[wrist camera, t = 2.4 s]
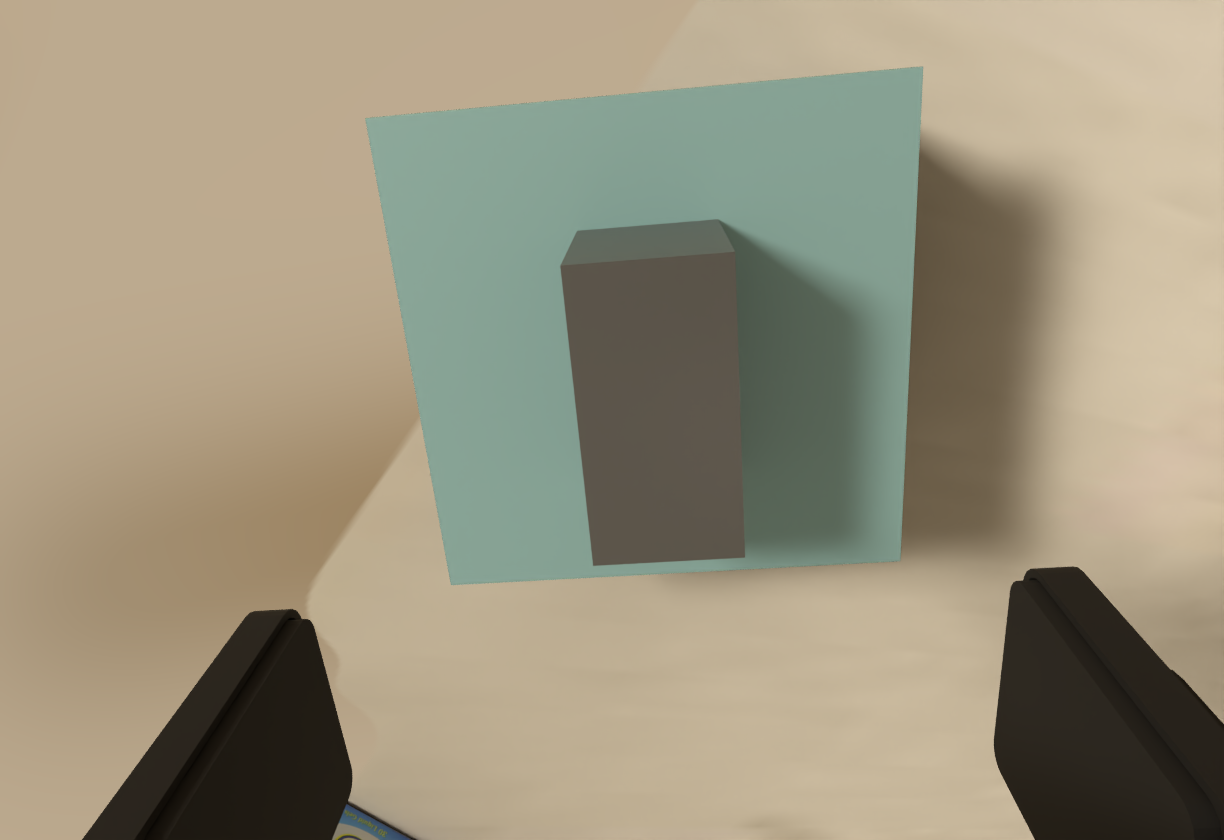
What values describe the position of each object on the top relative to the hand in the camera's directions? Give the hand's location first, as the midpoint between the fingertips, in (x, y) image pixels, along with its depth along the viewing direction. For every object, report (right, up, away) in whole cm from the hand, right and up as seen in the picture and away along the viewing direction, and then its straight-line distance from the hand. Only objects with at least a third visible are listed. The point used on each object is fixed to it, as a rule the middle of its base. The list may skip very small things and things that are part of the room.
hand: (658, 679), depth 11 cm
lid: (+1, +6, +15) cm, 16 cm away
